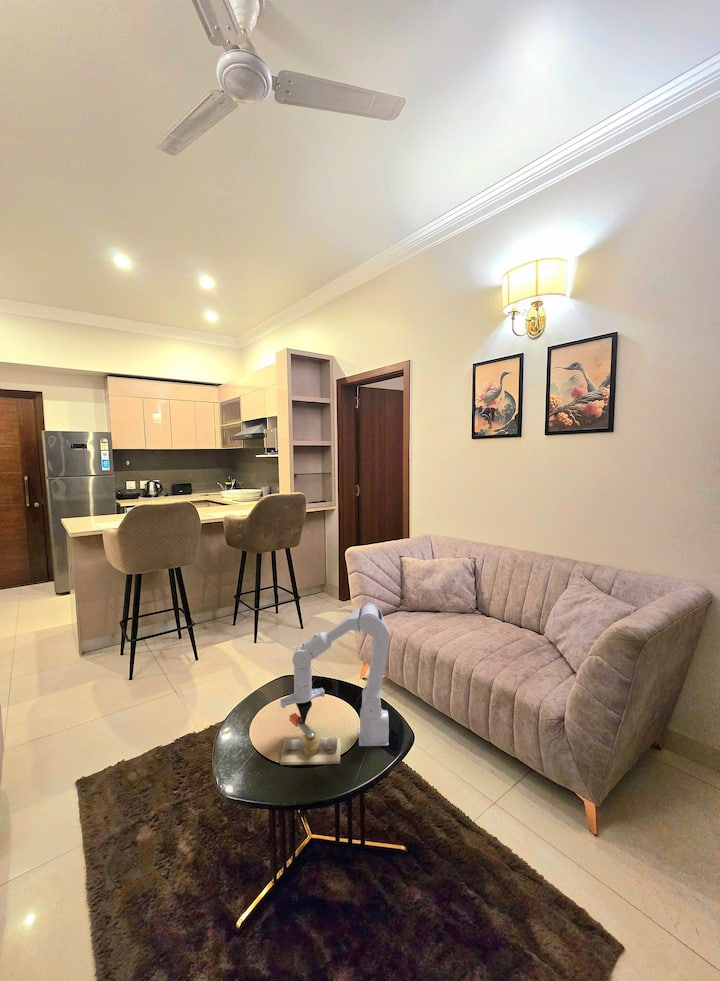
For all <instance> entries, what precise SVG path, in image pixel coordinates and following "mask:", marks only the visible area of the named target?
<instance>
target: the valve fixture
mask: <svg viewBox="0 0 720 981" xmlns="http://www.w3.org/2000/svg"><path fill="white" fill-rule="evenodd" d="M314 732H315V738H314V739H308V736H307V735H306V734H305V733H304V735H303V737H302V738H299V737H298V738H297V737H295V738H284V740H283V746H282V750H281V754H280V755H281V756H280V760H279V766H295V765H297V766H298V765H300V766H301V765H302V766H303V765H335V764H336V765H340V764H341V737H321V736H320V734H319V733H318V732H316V731H314Z"/></svg>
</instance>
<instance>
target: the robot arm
mask: <svg viewBox="0 0 720 981" xmlns="http://www.w3.org/2000/svg"><path fill="white" fill-rule="evenodd" d="M350 631H353V632H354V631H355V632H357V633H360V632H361V631H362V632H364V633H365V634H366V635H369V636H371V637H372V638H373V639H374V643H373V646H372V647H373V648H372V654H371V660H370V666H369V671H368V678H367V681H366V684H365V686H364V687H363V689H362V692H361V697H362V699H361V700H362V701H361V707H360V709H359V728H357V729H358V730H357V731H358V732H357V733H358V746H359V747H381V746H383V747H384V746H387V747H388V746H389V745H390V744H389V735H390V728H389V727H390V726H389V724H390V723H389V719H390V718H389V712H388V710H386V709H383V708H382V707H381V706H382V703H381V694H382V693H381V692H382V685H383V680H384V674H385V673H384V672H385V667H386V663H387V657H388V652H389V644H390V639H391V632H390V629H389V627H388V624H387V622H386V620H385V618H384V616H383V613H382V610H381V609H380V608H379V606H376V604H374V603H372V602H367V603H364V604H363V605H362V606H361V607H358V608H356V609H355V610H353V611H352V612H351V613H350V614H348V615H347V616H346V617H345V618H344V619H342V620H341V621H340V622H338V623H337V624H336V625H334V626H333V627H332V628H331V629H330V630H328V631H327V632H326V631H321V632H319V633H318V632H316V633H314V634H313V637H312V638H310V639H309V640H307V641H303V642H302V643H301V644H299V645H298V646H297V647H296V648H295V650H294V653H293V656H292V664H293V665H294V667H293V668H294V669H293V693H291V694H289V695H288V696H285V697H283V698H281V699H280V708H282V709H285V708H286V707H287V706H290V705H296V707H297V709H298V713H299V716H300V717H301V718H302V721H303V722H304V723H305V724H306V720H307V716H308V714H309V711H310V709H311V708H312V706H313V702H312V700H314V699H315V698H318V697H321V698H323V697H326V696H325V695H326V694H325V689H324V688H323V687H320V688H312V687H313V683H312V682H313V680H312V678H313V676H312V675H313V670H312V669H313V668H312V660H314V659H316V658H319V656H321V655H323V653H325V652H326V651H328V650H329V649H330V648H331V647H332V642H334V641H335V640H338V639H339V638H340V637H341V638H342V636H344V635H345V634H347V633H349V632H350Z"/></svg>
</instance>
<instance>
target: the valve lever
mask: <svg viewBox="0 0 720 981" xmlns="http://www.w3.org/2000/svg"><path fill="white" fill-rule="evenodd" d="M289 722H291V724H293V725H294V726H295V728H296V727H298V729H300V730H301V731H302V732H303V733H304V735H305V734H306V735H307V736H308V739H314V738H315V732H316V731H314V730H313V729H312V728H311V727H309V726H308V725H307V724H306V722H305V723H304V722H303V721H302V718H301V716H300V715H298V713H296V712H294V713H292V714H290V715H289Z"/></svg>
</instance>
